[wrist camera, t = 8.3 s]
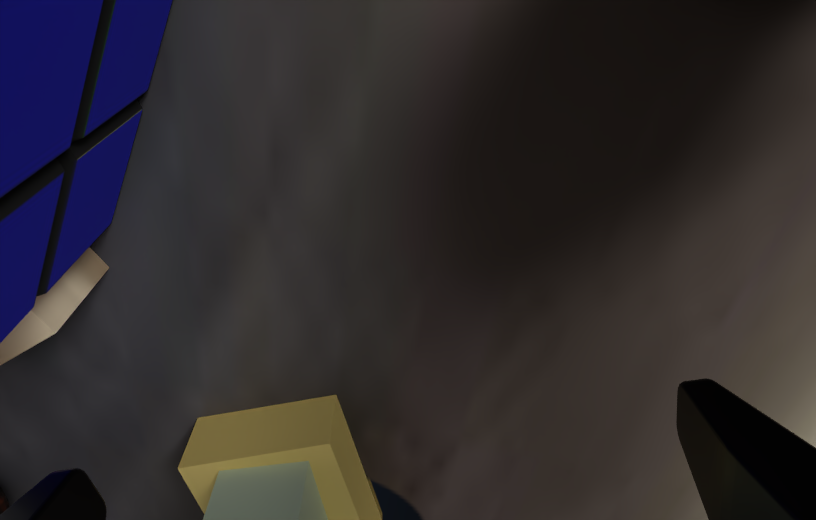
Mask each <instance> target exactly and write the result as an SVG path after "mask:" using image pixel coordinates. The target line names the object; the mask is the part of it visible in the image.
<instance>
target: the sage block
mask: <svg viewBox="0 0 816 520" xmlns="http://www.w3.org/2000/svg"><path fill="white" fill-rule="evenodd" d="M203 520H328V518H327V515H326V512H325V509H324V506H323V503H322V500H321V497H320V494H319V491H318V488H317V485H316V482H315V479H314V475H313V472H312V469H311V466H310V463H309V461H303V462H294V463H285V464H275V465H267V466H258V467H249V468H240V469H231V470H222V471H219V472H218V475H217V478H216V481H215V485H214V488H213V491H212V494H211V497H210V500H209V503H208V506H207V509H206V512H205V515H204V518H203Z"/></svg>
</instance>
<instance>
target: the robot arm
mask: <svg viewBox="0 0 816 520" xmlns="http://www.w3.org/2000/svg"><path fill="white" fill-rule="evenodd" d="M677 431H678V436H679V440H680V443H681V445H682V448H683V451H684V453H685V456H686V459H687V462H688V464H689V467H690V470H691V472H692V475H693V478H694V481H695V483H696V486H697V489H698V492H699V494H700V497H701V500H702V502H703V505H704V508H705V511H706V513H707V516H708V519H709V520H816V448H815V447H813V446H812V445H810V444H809V443H807V442H806V441H804V440H803V439H801V438H800V437H798V436H797V435H795V434H794V433H792V432H791V431H789V430H788V429H786V428H785V427H783V426H782V425H780V424H779V423H777V422H776V421H774V420H773V419H771V418H770V417H768V416H767V415H765V414H764V413H762V412H760V411H759V410H757V409H756V408H754V407H753V406H751V405H750V404H748V403H747V402H745V401H744V400H742V399H741V398H739V397H738V396H736V395H735V394H733V393H732V392H730V391H729V390H727V389H726V388H724V387H723V386H721V385H720V384H718V383H717V382H715V381H713V380H711V379H698V380H691V381H684V382H682V383H681V384H679V387H678V393H677ZM0 520H106V505H105V502H104V500H103V498H102V497H101V495H100V494H99V492H98V491H97V489H96V488H95V486H94V485H93V483H92V482H91V480H90V479H89V477H88V476H87V474H86V473H85V472H84V471H83V470H81V469H78V468H73V469H66V470H59V471H55V472H52V473H51V474H49V475H48V476H46V477H45V478H44V479H43V480H42V481H40V482H39V483H38V484H37V485H36V486H34V487H33V488H32V489H31V490H30V491H28V492H27V493H26V494H25V495H23V496H22V497H21V498H20V499H19V500H17V501H16V502H15V503H14V504H13V505H11V506H10V507H9V508H8V509H7V510H5V511H4V512H3V513H2V514H0Z"/></svg>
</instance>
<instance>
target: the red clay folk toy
mask: <svg viewBox="0 0 816 520" xmlns="http://www.w3.org/2000/svg"><path fill="white" fill-rule="evenodd" d="M9 506H10V505H9V503H8V500H7V498H6V497H5V495H4V493H3V492H2V490H1V489H0V514H2V513H3V512H4V511H5V510H7V509H8V508H9Z"/></svg>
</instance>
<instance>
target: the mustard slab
mask: <svg viewBox="0 0 816 520" xmlns="http://www.w3.org/2000/svg"><path fill="white" fill-rule="evenodd" d="M303 461H309V463H310V466H311V469H312V472H313V475H314V479H315V482H316V485H317V488H318V491H319V494H320V497H321V500H322V503H323V506H324V509H325V512H326V515H327V518H328V520H382V511H381V508H380V505H379V503H378V500H377V497H376V494H375V491H374V489H373V486H372V483H371V480H369V479H367V477H366V474H365V472H364V469H363V466H362V464H361V461H360V458H359V455H358V453H357V450H356V447H355V444H354V442H353V439H352V436H351V433H350V431H349V428H348V425H347V422H346V420H345V417H344V414H343V411H342V409H341V406H340V403H339V401H338V398H337V395H331V396H325V397H319V398H313V399H307V400H301V401H295V402H289V403H283V404H277V405H272V406H266V407H260V408H254V409H248V410H242V411H236V412H230V413H224V414H218V415H212V416H206V417H200V418H197V421H196V423H195V426H194V428H193V431H192V433H191V436H190V438H189V441H188V444H187V446H186V449H185V451H184V454H183V456H182V459H181V461H180V464H179V466H178V470H179V472H180V474H181V475H182V477H183V479H184V481H185V482H186V484H187V486H188V487H189V489H190V491H191V493H192V494H193V496H194V498H195V499H196V501H197V503H198V505H199V506H200V508H201V510H202V511H203V513H204V515H205V512H206V509H207V506H208V503H209V500H210V497H211V494H212V491H213V488H214V485H215V481H216V478H217V475H218V472H219V471H222V470H231V469H240V468H249V467H258V466H267V465H275V464H285V463H294V462H303Z"/></svg>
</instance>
